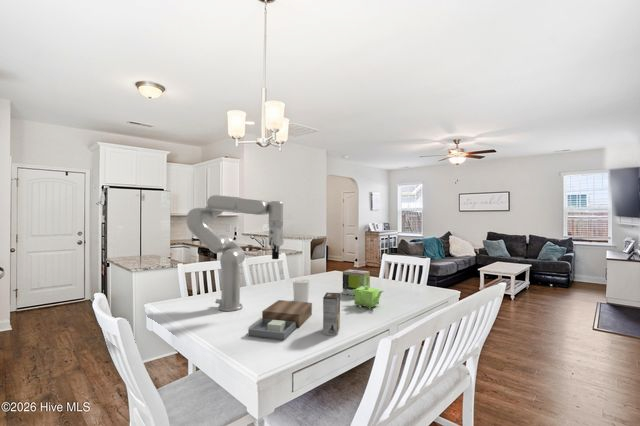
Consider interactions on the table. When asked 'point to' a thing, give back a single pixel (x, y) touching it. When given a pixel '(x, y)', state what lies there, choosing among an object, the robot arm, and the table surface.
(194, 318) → the table surface
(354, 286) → the tea box
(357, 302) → the kettle
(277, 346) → the table surface
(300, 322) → the brown slab
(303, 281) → the candle holder
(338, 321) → the coffee box
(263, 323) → the bin
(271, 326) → the tile
